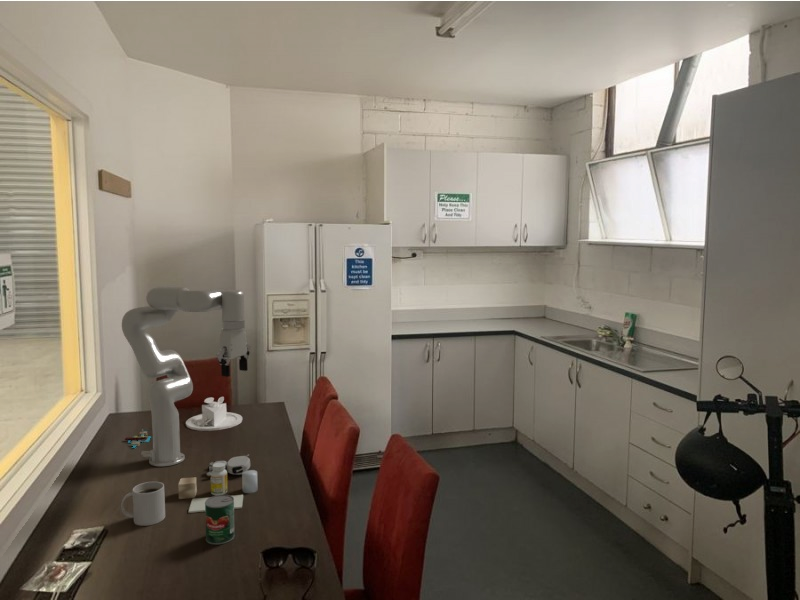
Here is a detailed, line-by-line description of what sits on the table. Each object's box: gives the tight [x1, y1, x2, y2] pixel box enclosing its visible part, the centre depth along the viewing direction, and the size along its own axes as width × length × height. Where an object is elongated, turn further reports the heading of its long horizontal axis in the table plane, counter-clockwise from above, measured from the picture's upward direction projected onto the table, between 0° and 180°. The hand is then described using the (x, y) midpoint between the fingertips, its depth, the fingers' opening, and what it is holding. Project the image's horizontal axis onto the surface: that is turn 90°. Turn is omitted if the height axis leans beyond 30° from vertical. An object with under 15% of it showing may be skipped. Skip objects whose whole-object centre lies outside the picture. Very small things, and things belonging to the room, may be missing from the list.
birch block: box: [177, 476, 198, 500], centre depth 195 cm, size 5×5×5 cm
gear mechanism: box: [124, 428, 152, 449], centre depth 247 cm, size 20×5×9 cm
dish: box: [185, 396, 243, 432], centre depth 272 cm, size 25×25×11 cm
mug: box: [120, 481, 166, 527], centre depth 178 cm, size 11×10×10 cm
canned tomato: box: [204, 494, 236, 545], centre depth 168 cm, size 8×8×11 cm
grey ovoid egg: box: [241, 469, 259, 494], centre depth 199 cm, size 5×5×6 cm
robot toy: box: [206, 454, 251, 477], centre depth 214 cm, size 12×4×15 cm
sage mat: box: [188, 494, 244, 514], centre depth 189 cm, size 16×9×1 cm, turn 102°
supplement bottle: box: [210, 463, 228, 496], centre depth 197 cm, size 5×5×10 cm
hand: (234, 373), depth 209 cm, fingers open, 9 cm apart
